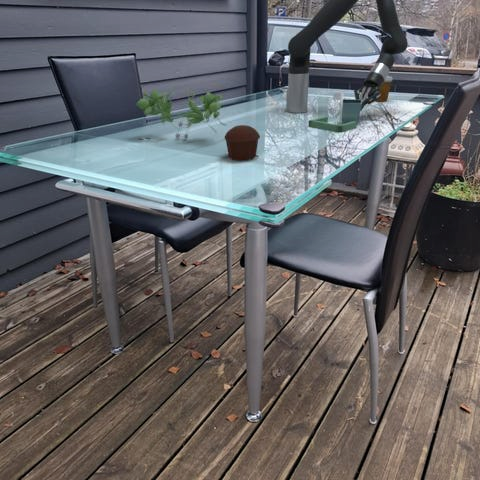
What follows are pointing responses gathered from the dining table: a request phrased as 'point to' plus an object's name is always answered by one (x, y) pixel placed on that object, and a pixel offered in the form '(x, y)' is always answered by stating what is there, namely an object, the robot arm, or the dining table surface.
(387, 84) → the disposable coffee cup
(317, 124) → the green u-shaped frame
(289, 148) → the dining table surface
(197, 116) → the plant cuttings
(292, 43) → the robot arm
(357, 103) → the flower pot
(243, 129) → the muffin
